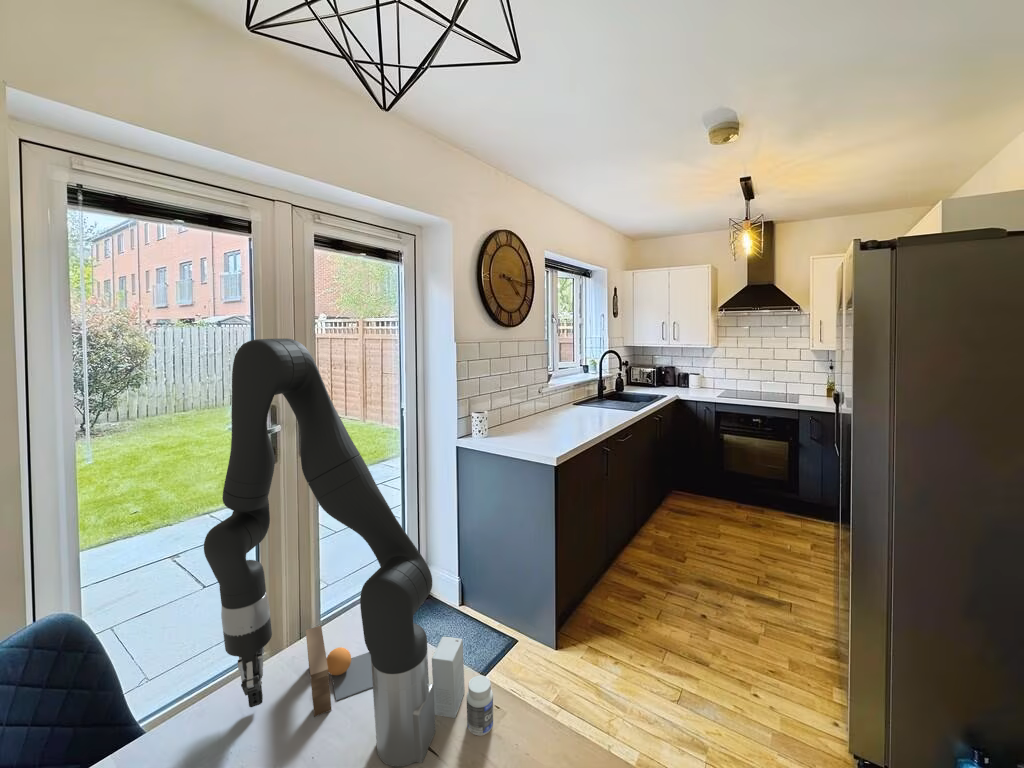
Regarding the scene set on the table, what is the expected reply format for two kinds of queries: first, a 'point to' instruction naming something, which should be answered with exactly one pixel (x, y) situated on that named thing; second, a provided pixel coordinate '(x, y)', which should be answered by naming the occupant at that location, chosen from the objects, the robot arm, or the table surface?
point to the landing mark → (354, 677)
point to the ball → (338, 661)
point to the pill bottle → (479, 705)
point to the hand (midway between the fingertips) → (256, 702)
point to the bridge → (318, 671)
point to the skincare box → (448, 676)
